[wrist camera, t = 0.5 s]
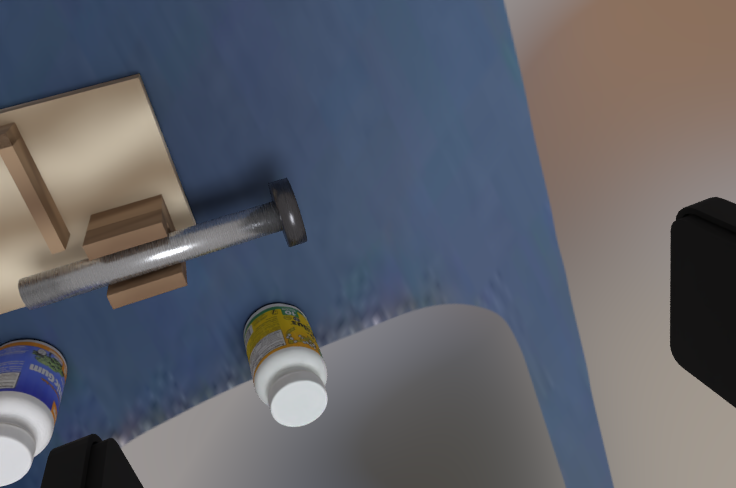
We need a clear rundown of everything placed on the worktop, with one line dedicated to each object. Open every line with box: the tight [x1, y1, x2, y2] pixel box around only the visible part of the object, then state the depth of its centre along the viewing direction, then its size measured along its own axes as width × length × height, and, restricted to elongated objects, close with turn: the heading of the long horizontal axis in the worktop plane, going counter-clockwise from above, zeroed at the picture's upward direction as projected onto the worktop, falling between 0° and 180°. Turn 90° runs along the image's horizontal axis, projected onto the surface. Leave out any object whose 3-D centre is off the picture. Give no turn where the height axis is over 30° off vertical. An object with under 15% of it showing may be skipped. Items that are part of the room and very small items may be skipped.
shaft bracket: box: [0, 74, 196, 314], centre depth 37 cm, size 12×20×7 cm, turn 102°
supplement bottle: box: [244, 303, 328, 427], centre depth 45 cm, size 5×5×10 cm
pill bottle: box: [0, 339, 67, 486], centre depth 40 cm, size 5×5×10 cm
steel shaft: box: [18, 178, 307, 310], centre depth 38 cm, size 4×17×4 cm, turn 102°
